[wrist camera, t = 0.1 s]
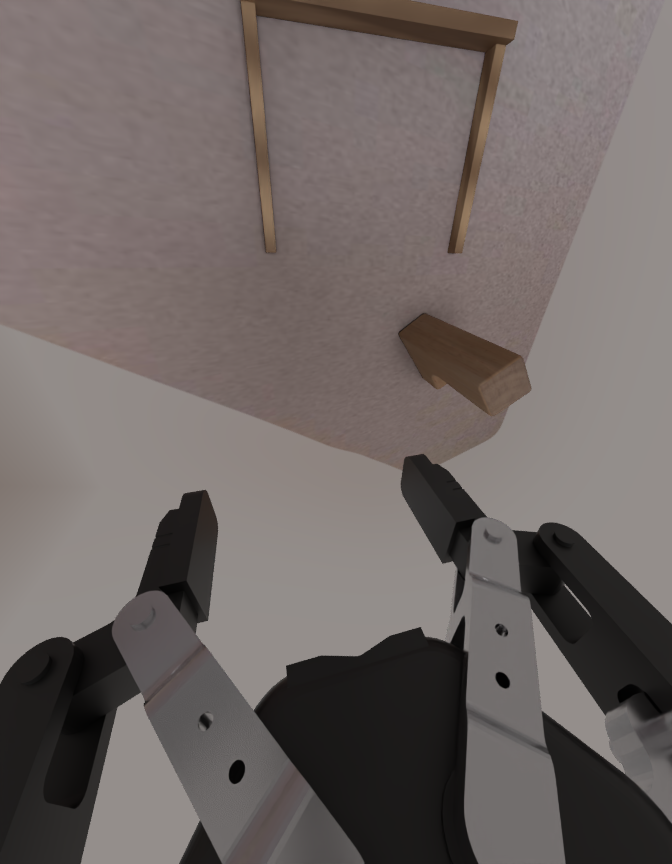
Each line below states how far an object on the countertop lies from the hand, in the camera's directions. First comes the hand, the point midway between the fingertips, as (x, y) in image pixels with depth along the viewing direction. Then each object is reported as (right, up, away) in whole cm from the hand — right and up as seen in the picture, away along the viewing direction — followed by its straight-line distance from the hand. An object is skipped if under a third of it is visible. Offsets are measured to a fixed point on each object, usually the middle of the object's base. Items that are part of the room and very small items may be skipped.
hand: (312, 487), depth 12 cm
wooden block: (+14, +15, +31) cm, 37 cm away
